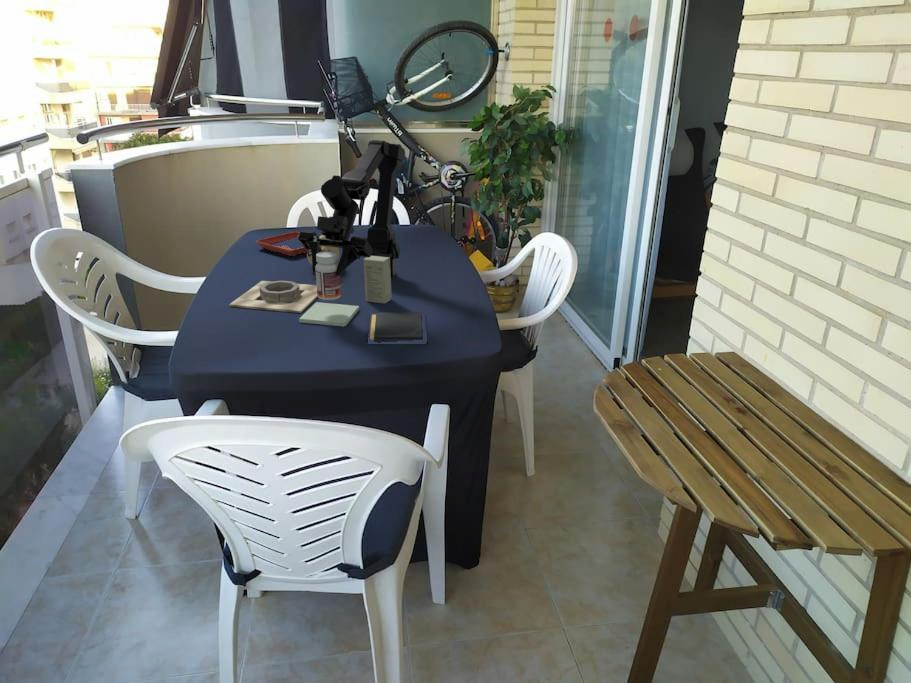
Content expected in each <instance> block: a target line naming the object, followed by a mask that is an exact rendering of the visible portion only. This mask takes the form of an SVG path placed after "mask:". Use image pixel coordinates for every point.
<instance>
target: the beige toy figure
mask: <svg viewBox="0 0 911 683" xmlns="http://www.w3.org/2000/svg"><path fill="white" fill-rule="evenodd" d="M318 237H319V238H325V237H326V236H325V235H323V234H321V235H319V236H318ZM321 249H322V251H323V252H324V251H331V252H335V253H337V262H338V260H340V259H339V258H340V250H339V249H340V248H338V247H329V246H322V248H321ZM306 258H307V260H308V262H309V263H310V265H311V266H312V253H311V250H308V252H307V253H306Z"/></svg>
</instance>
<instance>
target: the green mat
mask: <svg viewBox="0 0 911 683" xmlns="http://www.w3.org/2000/svg"><path fill="white" fill-rule="evenodd" d="M358 311H360V306H359V305H352V304H351V305H350V304H339V303H329V302H328V303H327V302H320V301H319V302H315V303H314V304H312V306H311V307H310V308H308V309H307V310H306V311H305V312H304V313H303V314H302V315H301V317H299V320H298V322H299V323H303V324H312V325H313V324H314V325H325V326H335V327H344V326H345V327H346V326H347V325H348V324H349V323H350V321H351V320H352V319H353V318H354V316H356V314H357V313H358Z"/></svg>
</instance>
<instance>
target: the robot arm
mask: <svg viewBox="0 0 911 683" xmlns="http://www.w3.org/2000/svg"><path fill="white" fill-rule="evenodd" d="M405 158H406V150H405V148H403V147H402V144H399V143H390V142H388V141H385V140H379V139H376V140H375V139H371V140H369V142H368V145H367V148H366V150H365V152H363V154H362V156H361V157H360V159H359V161H358V162H357V163H356V165H355V168H353V169H352V170H350V171H348V172H346V173H344V175H343V176H342V177H341V175H335V174H333V175H332V178H330V179H328V180H326V181H325V182H323V184H322V185H321V188H320V193H321V194H322V196H323V198H324V200H325V201H326V202H327V204H328V205H329V207H330V208H331V209H332V210H334V211H333V213H332V216H328V217H327V216H317V222H316V230H318V231H319V230H320V231H321V235H325V236H326V237H325V238H319V237H320V236H319V235H317V233H316V232H315V231H309V230H301V231H300V233H299V235H298V238H297V239H298V240H299V242H300V243H301V244H302V245H303V246H304V248H305V249H307V250H311V253H312V265H311V268H312V272H313V273H314V274H316V271H315V266H316V264H317V263H318V262H317V261H316V254H317V253H319V252H323V251H322V249H321V248H322V246H329V247H338V249H342V250H341V252H342V253H341V256H340V257H339V258H340V259H339V262H338V267H337V270H336V275H337V276H339V275H340V276H341V274H342V273H343V272H344V271H345V270H346V269H347V268H348V267H349V266H350V265H352V264H353V263H354V262H355V261H356V260H360V259H361V257H362V258H367V257H371V256H381V257H390V271H391V280H393V279H394V278H395V276H396V275H397V273H398V272H397V271H396V259H399V258H400V254H401V248H400V246H399V244H398V243H397V240H396V232H395V231H394V228H393V226H392V218H393V207H394V198H395V197H394V196H395V187H396V179H397V175H398V174H399V172H400V171H401V170H402V169H403V165H404V161H405ZM376 170H378V172H379V177H378V190H377V196H376V198H377V199H376V209H375V218H374V219H375V220H374V223H373V225H372V226H371V227H369V228H368V229H367V236H366V237H367V238H366V237H362V236H361V237H360V236H352V237H351V238H350V236H351V234H354V231H355V229H354V228H353V227H354V224H355V222H356V217H357V215H361V208H360V206H359V204H358V203H357V201H365V200H366V199H367V197H368V196H369V195H370V194H369V193H370V190H371V185H370V181H371V179H372V177H373V176H374V174H375V172H376Z"/></svg>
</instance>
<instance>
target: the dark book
mask: <svg viewBox="0 0 911 683" xmlns="http://www.w3.org/2000/svg"><path fill="white" fill-rule="evenodd" d="M421 314H424V313H423V312H421V311H420V312H418V311H416V312H415V311H411V312H406V311H404V312H402V311H401V312H399V311H398V312H395V311H394V312H393V311H392V312H391V311H389V312H385V311H384V312H383V311H382V312H381V311H380V312H379V311H377V312H376V313H369V320H368V328H369V331H368V330H367V337H369V336H368V334H369V332H370V340H374V342H377V343H381V342H397V341H413V340H423V329H422V316H421Z"/></svg>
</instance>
